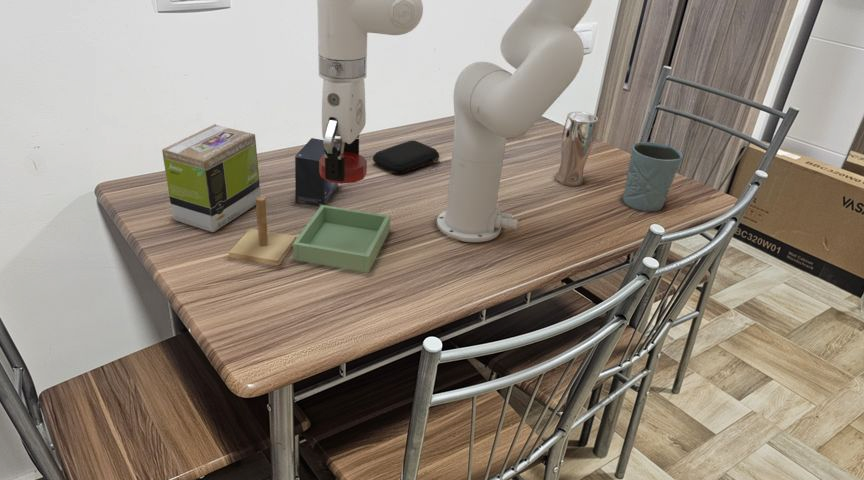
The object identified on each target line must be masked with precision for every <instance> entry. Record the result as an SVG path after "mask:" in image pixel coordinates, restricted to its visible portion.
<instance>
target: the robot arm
mask: <svg viewBox="0 0 864 480" xmlns="http://www.w3.org/2000/svg"><path fill="white" fill-rule="evenodd" d="M316 2H317V3H316V4H317V52H318V53H317V54H318V55H317V58H318V59H317V60H318V61H317V62H318V77H320V78H321V79H322V91H321V92H322V93H321V136H322V140H324V141H323V145H324V151H325V155H324V156H325V178H326V179H328V180H334V181H341V182H342V181H344V179H345V158H343V152H351V153H356V154H358V155H360V135H361V133H362V131H363V130H364V128H365V126H366V123H367V121H366V120H367V118H366V116H367V115H366V86H365V84H366V83H365V79H366V78H367V73H368V72H367V70H368V69H367V68H368V34H369V33H370V34H379V35H386V36H387V35H388V36H402V35H406V34H408V33H409V32H412V31H413V30H415V28H417V26H418V25H419V24H420V22H421V20H422V18H423V13H424V5H423V0H316ZM592 2H593V0H531V1H530V2H529V3H528V4H527V6H526V7H524V9H523V10H522V11H521V13H520V14H519V15H518V16H517V17H516V18H515V19H514V21H513V22H512V23H511V24H510V25H509V26H508V28H507V29H506V30H505V33H504V34H503V35H502V37H501V41H500V44H499V45H500V46H499V48H500V54H501V56H502V58H503V59H504V61H505V62H506V63H507V64H509V65H510V66H511V67H512V68H513V69H515V71H514V72H513V73H511V72H509V71H508V70H506V69H505V68H503V67H501V66H499V65H497V64H495V63H492V62H489V61H476V62H473V63H471V64H468V65H467V66H466V67H464V68H463V69H462V70H461V72H460V73H459V74H458V75H457V78H456V81H455V83H454V87H453V114H454V116H453V117H454V127H453V128H454V131H453V143H452V151H451V159H450V160H451V162H450V169H449V179H448V188H447V189H448V190H447V198H446V208H445V210H443V211H442V212H440V213H439V215H437V218H436V226H437V229H438V230H439V231H440V232H441V233H443V234H444V235H446V236H448V237H450V238H452V239H455V240H458V241H459V242H465V243H483V242H489V241H491V240H493V239H495V238H497V237H498V236H499V235H500V234H501V231H502V228H506V229H510V230H517V228H518V223H519V219H518V218H517V219H515V218H513V215H514V213H513V214H512V213H508V212H507V213H506V212H505V213H504V212H502V211H500V210H499V206H500V205H499V203H498V198H499V191H500V185H501V178H502V171H503V164H504V157H505V152H506V143H507V139H513V138H516V137H519V136H520V135H523V134H524V133H525V132H527V131H528V130H530V129H531V127H533V126H534V125H535V124H536V123H537V122H538V121H539V119H540V118H541V117H543V115H544V114H545V113H546V112H547V111H548V109H550V108H551V106H552V105H553V104H554V103H555V102H556V101H557V100H558V98H559V97H560V96H561V95H562V94H563V93H564V92H565V90H567V88H569V86H570V85H571V83H572V82H574V80H575V78H576V77H577V75H578V73H579V72H580V69H581V67H582V64H583V61H584V57H585V47H584V42H583V40H582V38H581V36H580V35H579V33H578V32H577V31H575V30H574V29H575V28H576V26H577V25H578V24H579V23H580V21H581V20H582V19H583V18H584V16H585V15H586V13H588V11H589V9H590V7H591V5H592ZM336 137H340V138H336ZM334 143H335V144H339V151H338V149H337V148H336V147H334Z"/></svg>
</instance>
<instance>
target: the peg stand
mask: <svg viewBox="0 0 864 480" xmlns="http://www.w3.org/2000/svg"><path fill="white" fill-rule="evenodd" d="M266 202H267V201H266V197H265V196H264V195H263V196H262V195H261V196H259V197H256V205H255V206H256V208H255V209H256V222H257V229H256V228H249V229H248V230H247V231H246V232H245V233H244V234H243V236H242V237H240V239H239V240H238V241H237V242H236V243H235V245H234V246H233V247H232V248H231V249H230V250H229V251H228V257H229V258H231V259H237V260H241V261H242V260H243V261H247V262H248V261H249V262H253V263H260V264H265V265H272V266H275V267H279V265H280V264H281V263H282V262H283V260H284V259H285V257H286V256H287V255H288V254H289V252H290V250H291V249H293V243H294V241H295V240H296V239H297V236H296V235H291V234H286V233H279V232H275V231H268V222H267V221H268V219H267V203H266Z"/></svg>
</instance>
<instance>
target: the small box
mask: <svg viewBox="0 0 864 480" xmlns="http://www.w3.org/2000/svg"><path fill="white" fill-rule="evenodd" d="M323 141H324V139H319V138H314V137H311V138H310V139H309V140H308V141H307V142H306V144H305V145H304V146H303V147H302V148H301V149H300V150H299V151H298V153H296V154H295V156H294V179H295V180H294V181H295V187H294V189H295V193H294V194H295V195H294V203H295V204H300V205H306V206H313V207H319V208H320V206H321V205H325V206H327V204H328V202H329V201H330V199H331V198H332V196H333V195H334V194H335V193H336V191H337V190H338V189H339V183H333V182H329V181H327V180H325V179H323V178H322V177H321V175H320V173H319V160H320V159H321V157H322V156H323V155H325V151H324V145H323ZM334 147H336V148H337V149H338V151H339V144H335V143H334Z"/></svg>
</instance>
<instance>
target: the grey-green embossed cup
mask: <svg viewBox="0 0 864 480" xmlns="http://www.w3.org/2000/svg"><path fill="white" fill-rule="evenodd" d="M682 160H683V153H682V152H681V151H680V150H679V149H677V148H675V147H673V146H670V145H667V144H664V143H660V142H653V141H641V142H636V143H634V144H633V145H632V147H631V152H630V160H629V164H628V170H627V172H628V173H627V174H626V179H625V180H626V181H625V185H624V190H623V194H622V201H623V203H624V204H625V205H626V206H628V207H629V208H631V209H635V210H636V211H637V210H638V211H641V212H658V211H660V210H662V208H663V206H664V205H665V202H666V198H667V197H668V195H669V191H670V188H671V186H672V184H673V181H674V179H675V175H676V174H677V171H678V169H679V167H680V164H681V162H682Z"/></svg>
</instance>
